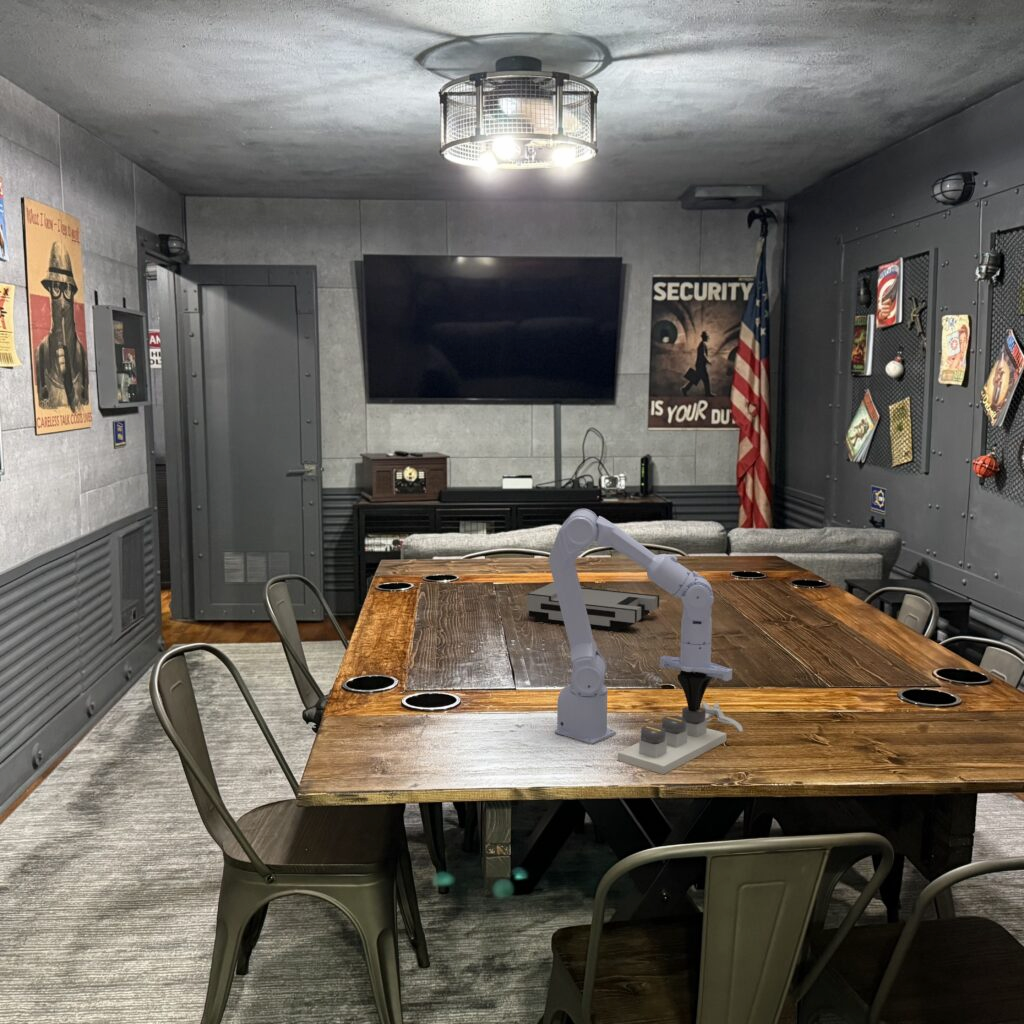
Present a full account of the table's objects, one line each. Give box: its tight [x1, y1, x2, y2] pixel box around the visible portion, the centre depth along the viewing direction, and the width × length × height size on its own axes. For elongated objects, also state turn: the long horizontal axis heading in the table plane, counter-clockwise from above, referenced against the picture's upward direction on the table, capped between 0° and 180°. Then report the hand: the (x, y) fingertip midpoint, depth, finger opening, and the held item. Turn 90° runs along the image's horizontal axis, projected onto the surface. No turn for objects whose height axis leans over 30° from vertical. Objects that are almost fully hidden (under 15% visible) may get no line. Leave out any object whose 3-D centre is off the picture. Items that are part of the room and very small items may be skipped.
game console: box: [525, 581, 660, 633], centre depth 293 cm, size 21×32×8 cm, turn 64°
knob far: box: [681, 706, 706, 724], centre depth 200 cm, size 4×4×4 cm
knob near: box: [640, 724, 666, 744], centre depth 189 cm, size 4×4×4 cm
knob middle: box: [661, 715, 686, 733], centre depth 194 cm, size 4×4×4 cm
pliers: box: [701, 701, 744, 734], centre depth 212 cm, size 10×2×15 cm
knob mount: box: [617, 719, 728, 775], centre depth 195 cm, size 10×22×4 cm, turn 139°
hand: (694, 709), depth 199 cm, fingers closed, pressing on knob far
